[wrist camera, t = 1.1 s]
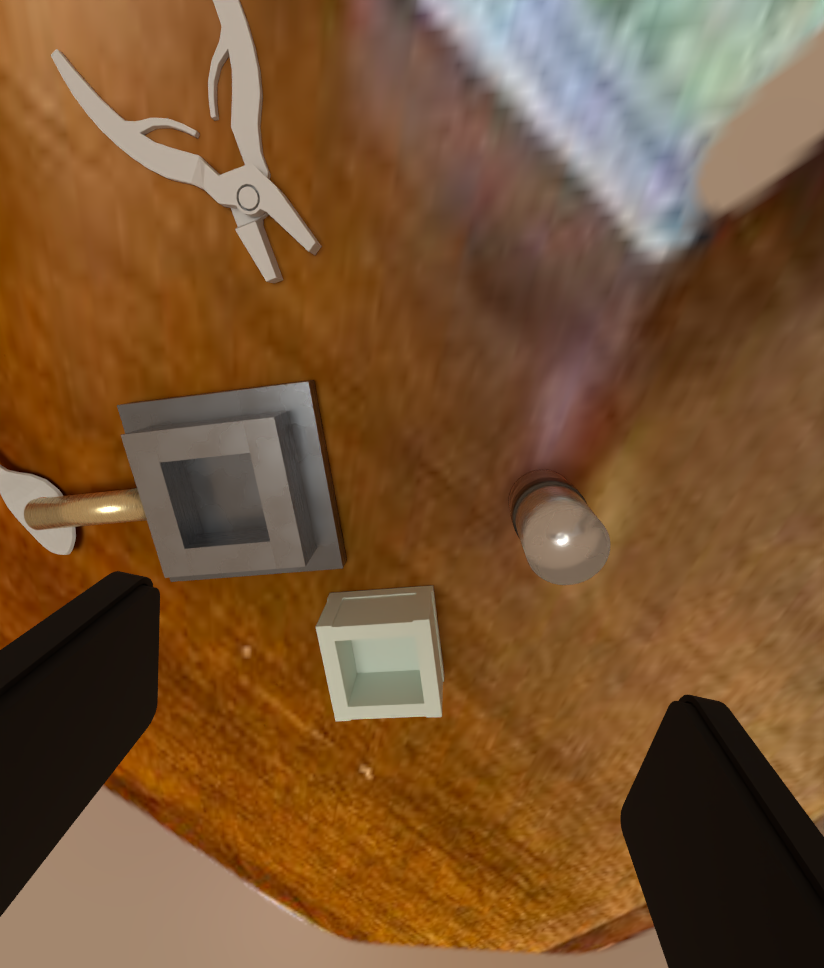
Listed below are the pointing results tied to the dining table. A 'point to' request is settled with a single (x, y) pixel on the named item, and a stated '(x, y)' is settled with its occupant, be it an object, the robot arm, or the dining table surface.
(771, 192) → the dining table surface
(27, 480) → the spoon
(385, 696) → the pale square socket block
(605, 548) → the beige round-topped cylinder
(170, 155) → the pliers
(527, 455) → the dining table surface
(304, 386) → the grey square pan
